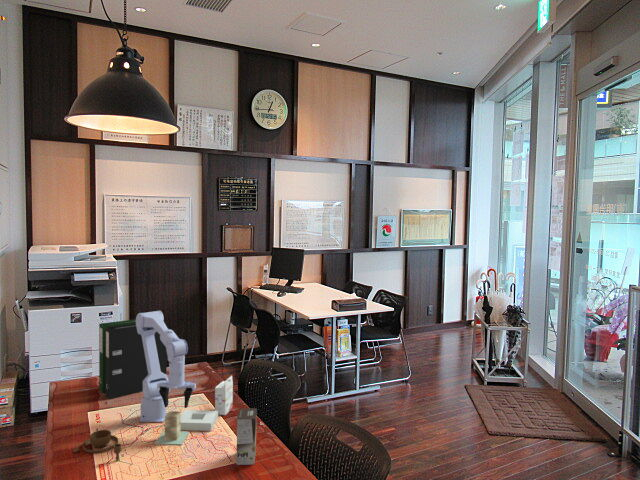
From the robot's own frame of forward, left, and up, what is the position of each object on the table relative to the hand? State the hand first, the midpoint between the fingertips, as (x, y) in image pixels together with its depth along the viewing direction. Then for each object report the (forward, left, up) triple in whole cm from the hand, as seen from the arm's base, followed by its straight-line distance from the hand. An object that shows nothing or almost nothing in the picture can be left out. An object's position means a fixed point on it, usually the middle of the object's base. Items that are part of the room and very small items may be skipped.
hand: (176, 406), depth 184 cm
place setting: (-23, -15, -11) cm, 29 cm away
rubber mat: (0, -5, -10) cm, 11 cm away
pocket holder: (+6, +8, -10) cm, 15 cm away
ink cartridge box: (+14, +21, -11) cm, 28 cm away
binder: (-34, +44, -11) cm, 57 cm away
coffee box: (+30, -18, -11) cm, 37 cm away
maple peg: (0, -5, -10) cm, 11 cm away
